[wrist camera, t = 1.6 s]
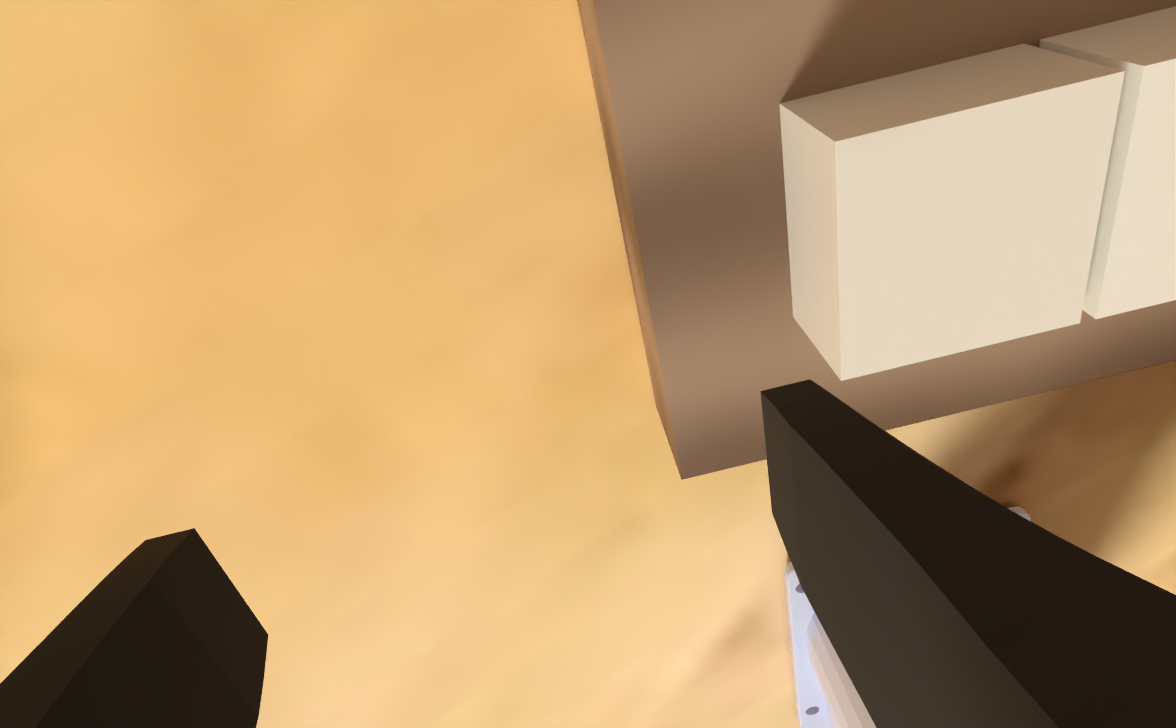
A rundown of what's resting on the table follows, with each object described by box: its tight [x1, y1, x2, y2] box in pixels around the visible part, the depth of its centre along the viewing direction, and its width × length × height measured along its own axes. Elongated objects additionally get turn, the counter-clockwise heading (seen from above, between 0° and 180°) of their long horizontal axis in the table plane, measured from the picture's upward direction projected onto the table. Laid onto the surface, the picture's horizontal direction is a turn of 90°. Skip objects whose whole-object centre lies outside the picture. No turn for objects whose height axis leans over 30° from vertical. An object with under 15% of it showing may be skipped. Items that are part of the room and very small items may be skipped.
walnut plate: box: [577, 0, 1176, 479], centre depth 16 cm, size 12×14×3 cm
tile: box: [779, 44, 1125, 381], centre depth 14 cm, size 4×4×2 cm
